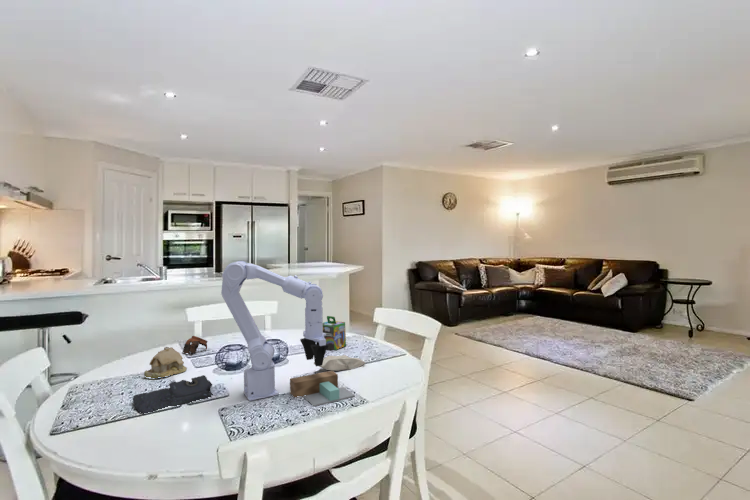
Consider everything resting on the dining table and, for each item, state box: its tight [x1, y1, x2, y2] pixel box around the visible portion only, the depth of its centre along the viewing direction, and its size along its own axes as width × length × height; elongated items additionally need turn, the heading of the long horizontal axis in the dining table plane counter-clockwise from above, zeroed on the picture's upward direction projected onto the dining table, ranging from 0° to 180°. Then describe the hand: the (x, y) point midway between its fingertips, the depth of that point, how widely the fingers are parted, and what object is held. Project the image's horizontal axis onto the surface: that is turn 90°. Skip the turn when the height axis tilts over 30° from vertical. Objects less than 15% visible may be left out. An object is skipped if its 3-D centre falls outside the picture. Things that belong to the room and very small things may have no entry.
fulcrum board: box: [303, 381, 356, 407], centre depth 123 cm, size 14×8×4 cm, turn 121°
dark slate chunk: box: [132, 374, 214, 415], centre depth 123 cm, size 15×22×5 cm
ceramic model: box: [143, 346, 188, 378], centre depth 145 cm, size 14×11×10 cm
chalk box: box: [323, 315, 347, 351], centre depth 179 cm, size 9×9×15 cm
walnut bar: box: [289, 370, 339, 398], centre depth 128 cm, size 15×4×5 cm, turn 120°
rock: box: [313, 354, 366, 372], centre depth 152 cm, size 21×5×15 cm
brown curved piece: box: [182, 335, 208, 354], centre depth 173 cm, size 12×10×8 cm
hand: (314, 362), depth 128 cm, fingers open, 7 cm apart
